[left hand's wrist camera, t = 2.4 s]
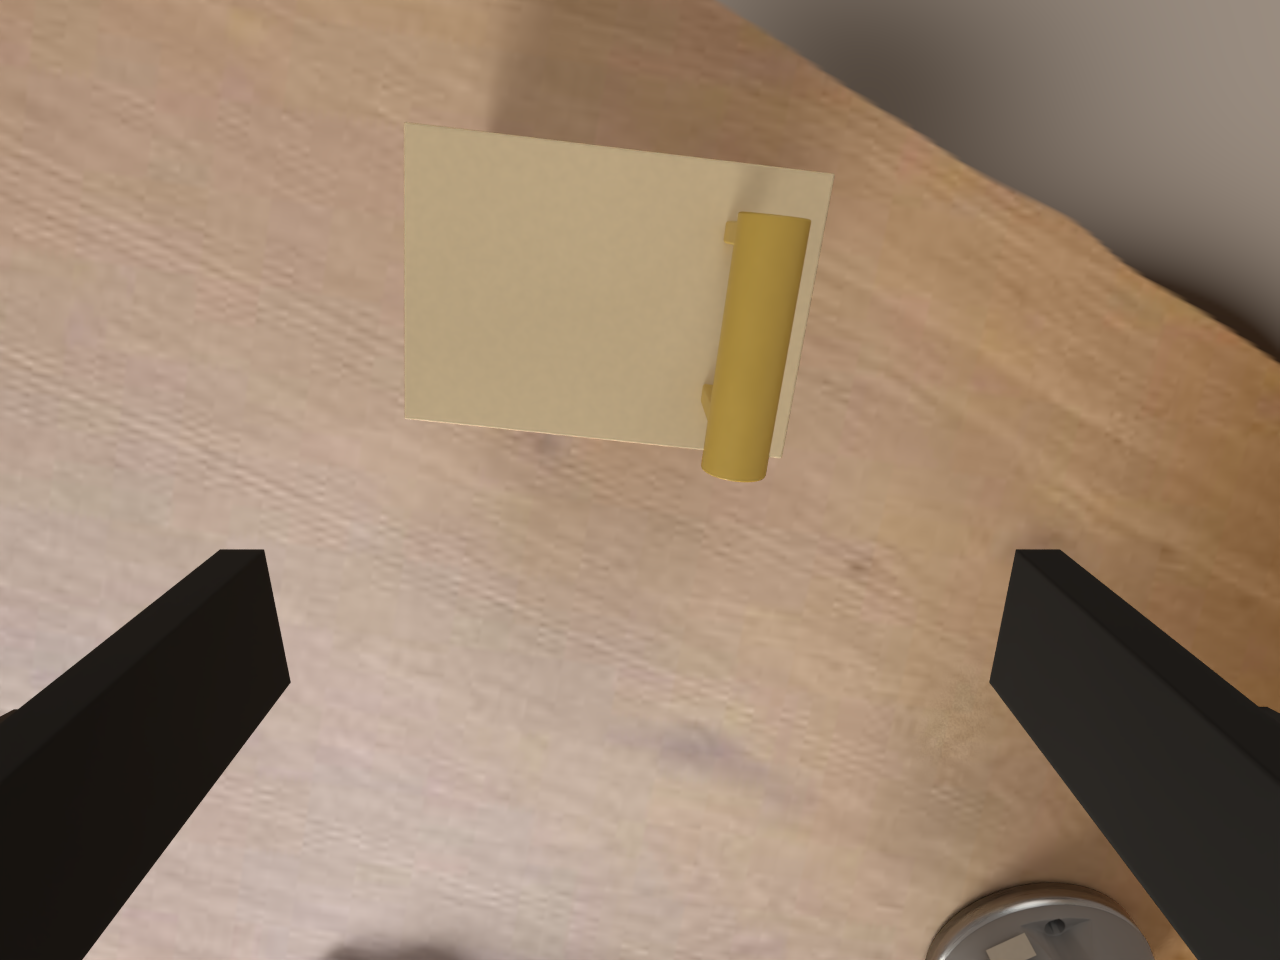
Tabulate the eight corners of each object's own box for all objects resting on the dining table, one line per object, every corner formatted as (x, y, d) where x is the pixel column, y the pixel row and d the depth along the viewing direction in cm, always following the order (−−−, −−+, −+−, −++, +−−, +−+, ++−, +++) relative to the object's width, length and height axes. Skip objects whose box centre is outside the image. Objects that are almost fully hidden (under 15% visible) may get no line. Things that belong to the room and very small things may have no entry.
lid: (828, 175, 24) (927, 151, 16) (777, 452, 27) (836, 551, 19) (410, 124, 23) (288, 73, 15) (410, 413, 27) (309, 498, 19)
